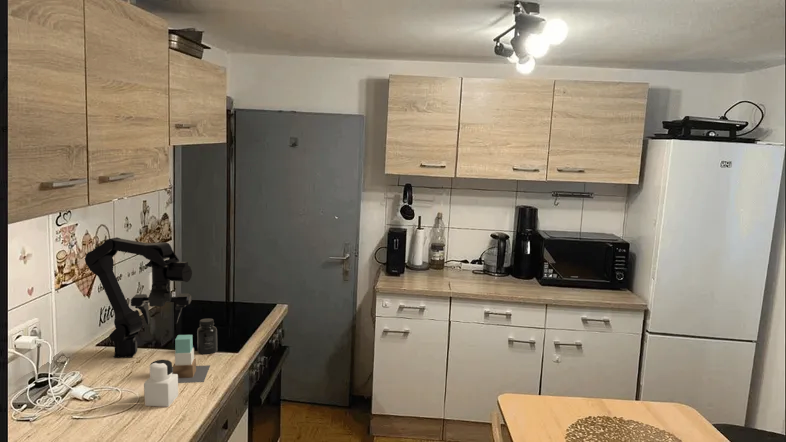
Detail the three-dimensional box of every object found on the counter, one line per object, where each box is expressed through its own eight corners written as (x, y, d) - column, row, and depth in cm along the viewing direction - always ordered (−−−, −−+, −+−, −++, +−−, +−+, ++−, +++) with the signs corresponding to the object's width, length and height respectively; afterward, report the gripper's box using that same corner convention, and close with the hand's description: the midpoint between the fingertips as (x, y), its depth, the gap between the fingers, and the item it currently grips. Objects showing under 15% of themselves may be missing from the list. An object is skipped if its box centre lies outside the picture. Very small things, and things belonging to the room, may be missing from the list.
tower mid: (174, 365, 185) (174, 353, 185) (178, 359, 190) (177, 348, 189) (191, 364, 186) (191, 353, 185) (194, 359, 191) (193, 347, 190)
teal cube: (175, 353, 185) (175, 339, 184) (178, 348, 189) (178, 335, 189) (190, 352, 186) (189, 339, 185) (192, 347, 190) (192, 334, 189)
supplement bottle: (220, 349, 213) (220, 317, 211) (212, 356, 206) (212, 323, 204) (202, 348, 213) (201, 316, 212) (194, 355, 207) (193, 322, 205)
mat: (157, 385, 181) (157, 383, 180) (167, 367, 194) (167, 366, 194) (203, 383, 183) (203, 381, 183) (210, 366, 197) (210, 365, 196)
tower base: (173, 378, 185) (173, 366, 185) (177, 370, 191) (176, 359, 190) (192, 377, 186) (192, 365, 186) (196, 370, 192) (195, 358, 191)
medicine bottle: (155, 395, 173) (154, 357, 172) (178, 396, 173) (177, 357, 171) (144, 406, 166) (142, 366, 164) (168, 407, 166) (167, 367, 164)
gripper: (125, 285, 188) (126, 332, 191) (185, 285, 192) (186, 330, 194) (134, 278, 199) (136, 321, 201) (191, 277, 202) (192, 320, 204)
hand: (162, 323), depth 200 cm, fingers open, 9 cm apart
